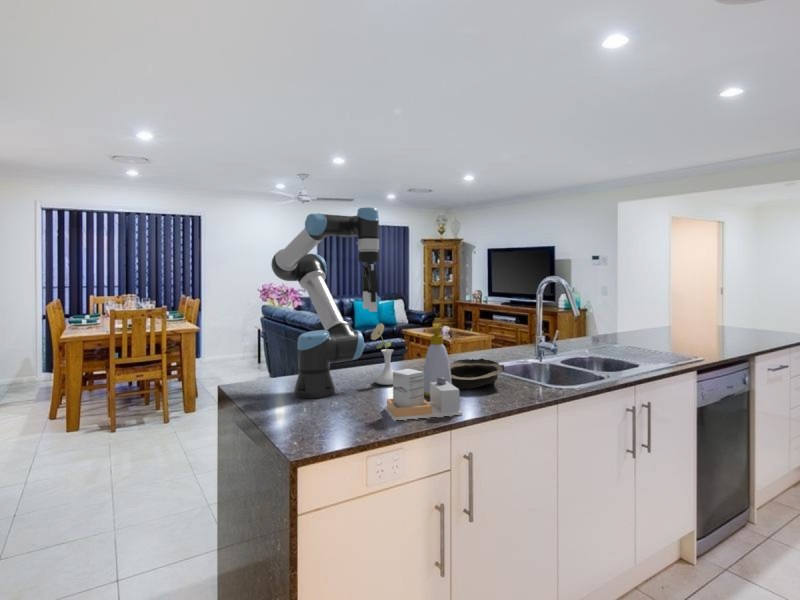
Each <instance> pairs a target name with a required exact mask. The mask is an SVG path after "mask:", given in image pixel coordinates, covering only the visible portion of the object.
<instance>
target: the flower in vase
mask: <svg viewBox="0 0 800 600" xmlns="http://www.w3.org/2000/svg"><path fill="white" fill-rule="evenodd" d="M384 331H385V324H383V323H378V324H377V325H376V327H375V328H373V329H372V332H371V334H370V339H371V340H373V341H376V340H377V339H379V338H380V337H381V339H382V342H380V343H378V344H377V346H376V349H381V348H382V347H383V346H384V348H385V349H381V350H380V351H381V353H382V354H383V358H384V367H383V369H382V370H381V371H380V372H379V373H378V374H377V375H376V376H375V377H374V379H373V381H374V383H375V384H378V385H380V386H381V385H382V386H383V385H384V386H393V372H394V371H395V370H393V368H392V367H391V359H392V354H393V352H394V349H389V347H391V345H392V340H389V341H387V342H385V341H384V339H383V336H382V334H383V333H384Z"/></svg>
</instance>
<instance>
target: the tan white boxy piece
mask: <svg viewBox="0 0 800 600" xmlns="http://www.w3.org/2000/svg"><path fill="white" fill-rule="evenodd" d="M429 399H430V400H429V401H427V400H426V399H425V398H424V406H413V407H401V408H397V407H396V406H395V405H394V403H393V398H387V399H386V405H384V409H385V411H386V412H387V414H388V415H389V417H390V416H391V417H390V418H391V419H392V421H393V420H394V421H393V422H397V421H396V420H404V421H408V420H407V419H415V420H419V419H418V418H426V419H431V418H430V417H437V418H445V417H444V416H449V417H454V416H453V415H460V416H463V411H461V410H460V388H458V387H457V388H456V387H455V386H453V384H450V383H449V382H447V381H446V378H445V377H437V382H430V397H429Z"/></svg>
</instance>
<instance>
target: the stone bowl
mask: <svg viewBox="0 0 800 600" xmlns="http://www.w3.org/2000/svg"><path fill="white" fill-rule="evenodd" d="M450 371H451V382H452V385H453V386H455V387H456V388H458V389H461V390H468V389H474V388H479V387H482V386H486V385H489V386H492V385H494V384H495V383H496V381H498V375H500V374H502V373H504V372H505V365H504V364H500V363H499V362H497V361H494V360H490V359H485V358H483V357H482V358H478V359H473V358H472V359H458V360H454V361H453V362H451V363H450Z"/></svg>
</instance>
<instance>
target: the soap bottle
mask: <svg viewBox="0 0 800 600" xmlns="http://www.w3.org/2000/svg"><path fill="white" fill-rule="evenodd" d="M442 326H443V325H442V323H432V328H433V335H430V344H429V346H428V348H427V352H426V356H425V360H424V366H423V367H424V368H423V372H424V396H426V397H429V398H430V382H437V377H445V378H446V381H447V382H449V383H450V384H452V382H451V371H450V365H451V363H450V359H449V355H448V352H447V348H446V346H445V345H444V343H443V342H444V338H443V337H444V336H443V335H440V328H441V327H442ZM452 385H453V384H452Z"/></svg>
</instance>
